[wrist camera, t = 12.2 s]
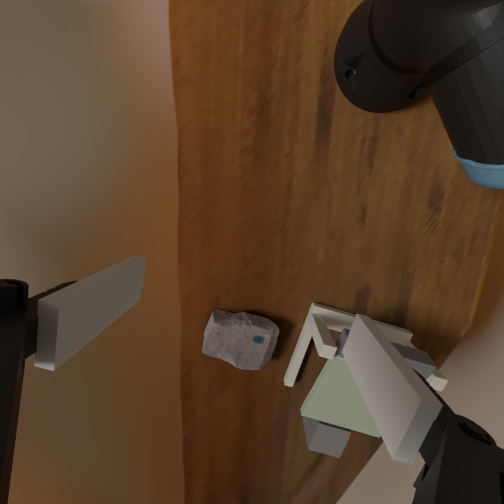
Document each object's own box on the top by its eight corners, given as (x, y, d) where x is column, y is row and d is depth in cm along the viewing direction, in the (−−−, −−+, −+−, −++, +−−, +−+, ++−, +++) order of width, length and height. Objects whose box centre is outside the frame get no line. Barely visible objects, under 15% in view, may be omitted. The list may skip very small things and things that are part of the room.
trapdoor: (341, 327, 38) (345, 340, 36) (429, 352, 38) (440, 368, 36) (300, 401, 46) (301, 417, 43) (374, 422, 46) (379, 439, 43)
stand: (312, 301, 47) (327, 335, 36) (408, 329, 48) (452, 371, 36) (283, 379, 51) (289, 431, 40) (372, 404, 52) (402, 463, 40)
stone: (281, 318, 49) (283, 334, 43) (267, 360, 51) (267, 381, 45) (215, 298, 49) (208, 312, 43) (203, 340, 51) (195, 359, 45)
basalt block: (308, 449, 46) (302, 416, 53) (339, 458, 46) (330, 424, 53) (319, 423, 45) (312, 393, 52) (351, 432, 45) (340, 401, 52)
